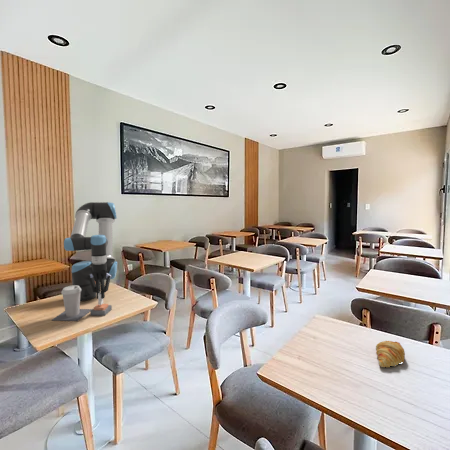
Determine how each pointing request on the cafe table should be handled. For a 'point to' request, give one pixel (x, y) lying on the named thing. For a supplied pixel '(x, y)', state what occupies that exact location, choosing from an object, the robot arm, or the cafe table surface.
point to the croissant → (389, 353)
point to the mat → (74, 318)
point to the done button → (101, 307)
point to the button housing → (101, 311)
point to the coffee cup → (71, 300)
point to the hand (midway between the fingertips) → (101, 304)
